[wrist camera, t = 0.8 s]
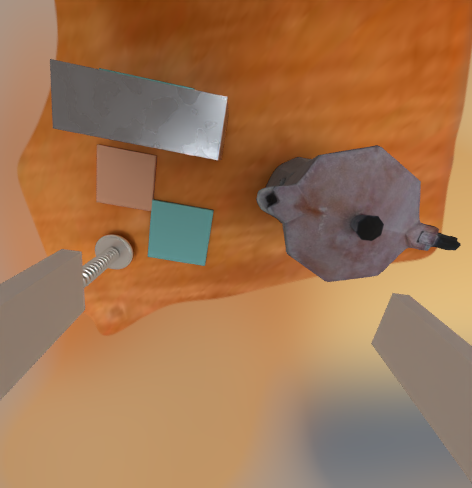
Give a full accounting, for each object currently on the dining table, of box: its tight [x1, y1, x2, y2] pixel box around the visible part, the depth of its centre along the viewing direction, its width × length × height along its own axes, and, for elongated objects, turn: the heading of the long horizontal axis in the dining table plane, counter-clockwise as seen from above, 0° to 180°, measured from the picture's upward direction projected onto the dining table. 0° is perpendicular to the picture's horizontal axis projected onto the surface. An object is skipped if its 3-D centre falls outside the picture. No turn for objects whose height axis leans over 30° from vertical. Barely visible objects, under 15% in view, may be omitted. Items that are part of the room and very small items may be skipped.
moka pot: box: [256, 145, 460, 282], centre depth 24 cm, size 10×15×20 cm, turn 81°
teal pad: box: [148, 199, 214, 266], centre depth 34 cm, size 8×8×1 cm
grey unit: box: [50, 59, 228, 160], centre depth 26 cm, size 5×14×10 cm, turn 79°
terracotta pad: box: [97, 145, 157, 211], centre depth 32 cm, size 7×7×1 cm
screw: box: [82, 234, 133, 287], centre depth 29 cm, size 13×5×5 cm
